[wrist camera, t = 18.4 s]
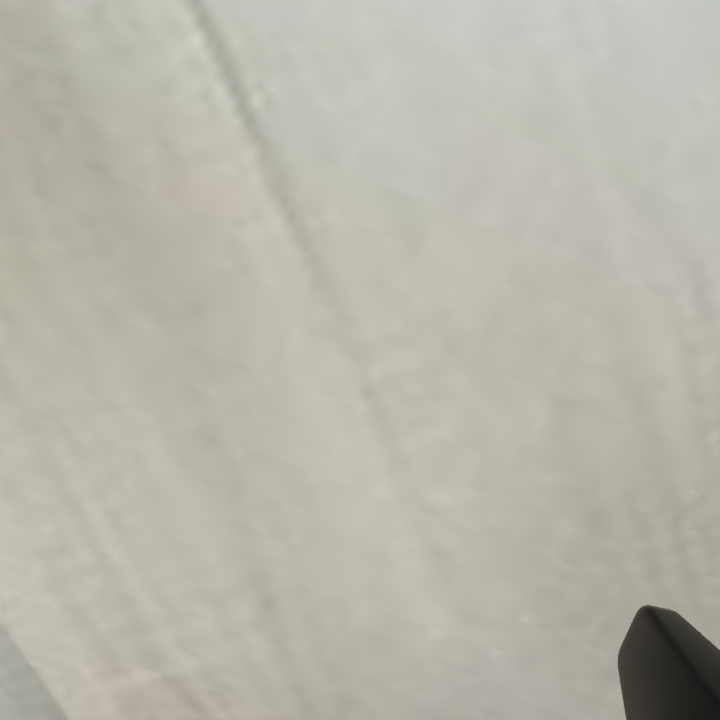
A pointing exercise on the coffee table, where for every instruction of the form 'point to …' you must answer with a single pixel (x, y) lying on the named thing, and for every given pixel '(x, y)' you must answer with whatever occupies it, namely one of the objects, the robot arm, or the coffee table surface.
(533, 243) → the coffee table surface
